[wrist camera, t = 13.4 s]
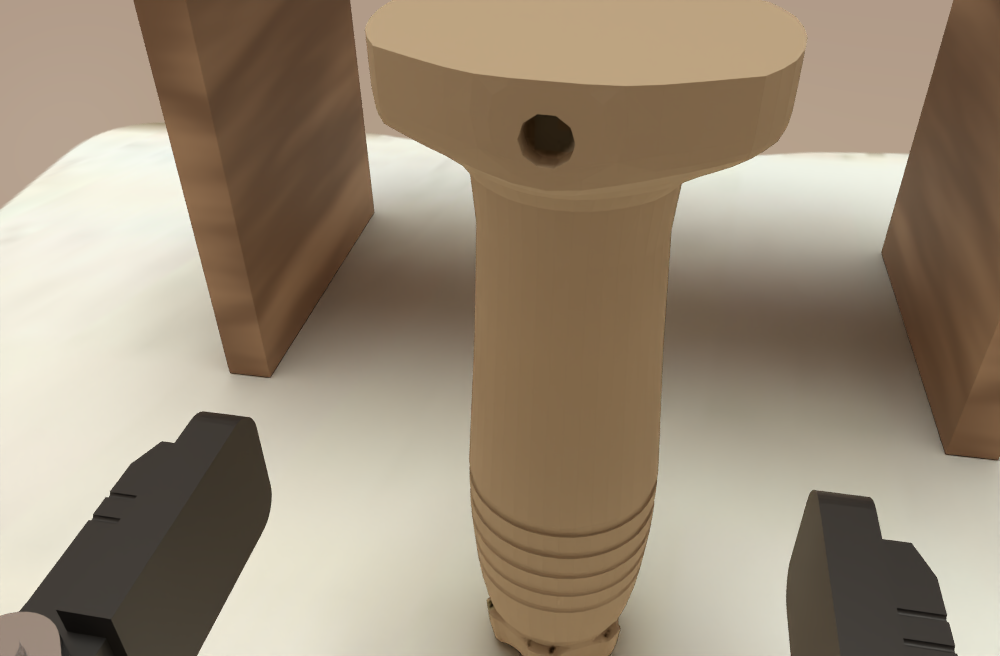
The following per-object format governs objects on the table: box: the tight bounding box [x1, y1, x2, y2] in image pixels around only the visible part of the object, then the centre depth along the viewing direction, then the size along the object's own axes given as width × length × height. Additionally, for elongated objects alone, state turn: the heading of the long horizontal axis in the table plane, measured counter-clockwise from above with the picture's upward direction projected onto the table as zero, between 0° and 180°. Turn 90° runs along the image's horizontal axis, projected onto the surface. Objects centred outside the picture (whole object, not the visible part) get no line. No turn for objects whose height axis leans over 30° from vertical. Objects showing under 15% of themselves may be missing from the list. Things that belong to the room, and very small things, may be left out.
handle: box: [365, 0, 807, 656], centre depth 17 cm, size 5×6×15 cm
